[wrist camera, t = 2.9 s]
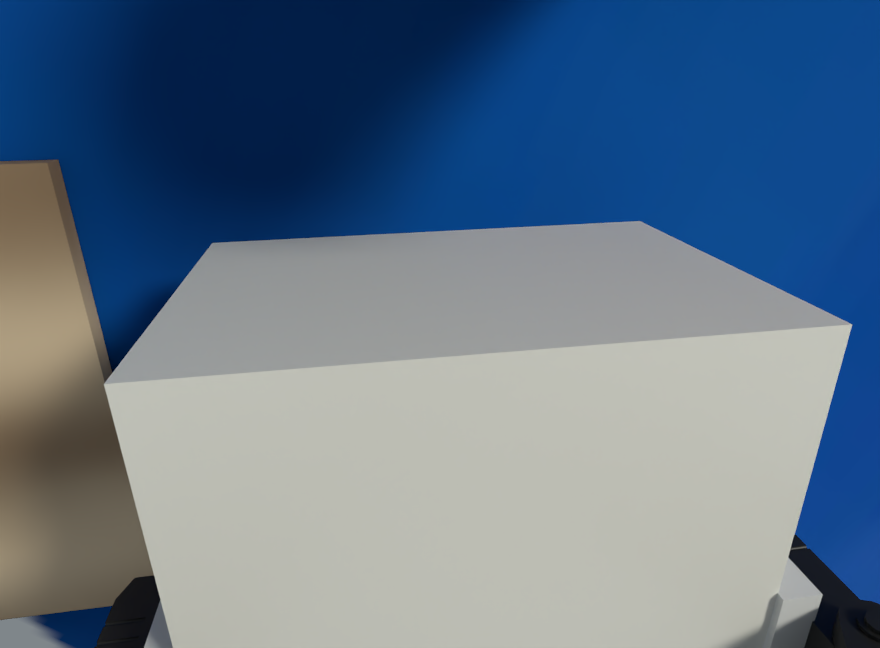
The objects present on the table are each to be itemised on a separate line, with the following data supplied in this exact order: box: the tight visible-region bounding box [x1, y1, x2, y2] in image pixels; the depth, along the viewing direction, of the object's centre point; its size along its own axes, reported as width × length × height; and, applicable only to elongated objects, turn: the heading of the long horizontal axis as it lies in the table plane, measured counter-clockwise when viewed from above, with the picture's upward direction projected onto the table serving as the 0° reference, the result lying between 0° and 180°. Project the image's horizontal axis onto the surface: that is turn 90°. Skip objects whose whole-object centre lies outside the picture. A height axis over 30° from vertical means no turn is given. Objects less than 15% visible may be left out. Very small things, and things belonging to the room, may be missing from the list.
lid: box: [104, 221, 852, 648], centre depth 13 cm, size 13×10×7 cm
